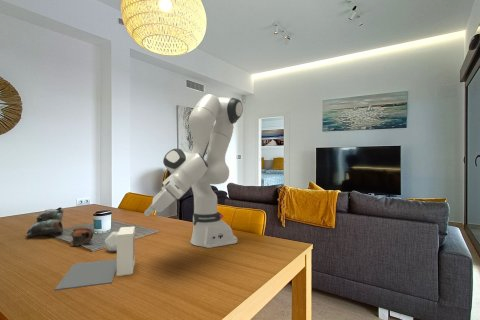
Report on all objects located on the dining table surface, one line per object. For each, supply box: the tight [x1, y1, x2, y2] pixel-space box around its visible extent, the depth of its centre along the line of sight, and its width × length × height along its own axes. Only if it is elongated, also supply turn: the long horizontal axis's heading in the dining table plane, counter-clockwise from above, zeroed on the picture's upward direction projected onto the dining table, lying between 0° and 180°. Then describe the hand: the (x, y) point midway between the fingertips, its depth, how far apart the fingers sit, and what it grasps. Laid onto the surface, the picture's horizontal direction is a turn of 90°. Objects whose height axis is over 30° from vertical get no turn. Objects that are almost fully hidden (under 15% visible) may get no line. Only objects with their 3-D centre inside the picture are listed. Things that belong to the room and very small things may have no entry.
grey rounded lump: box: [25, 207, 64, 239], centre depth 135 cm, size 17×14×16 cm
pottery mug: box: [69, 227, 94, 247], centre depth 122 cm, size 12×10×8 cm
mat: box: [54, 258, 117, 291], centre depth 90 cm, size 16×20×1 cm
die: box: [104, 231, 119, 252], centre depth 113 cm, size 8×9×10 cm
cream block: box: [116, 226, 136, 277], centre depth 94 cm, size 5×10×14 cm, turn 18°
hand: (145, 214), depth 95 cm, fingers closed
